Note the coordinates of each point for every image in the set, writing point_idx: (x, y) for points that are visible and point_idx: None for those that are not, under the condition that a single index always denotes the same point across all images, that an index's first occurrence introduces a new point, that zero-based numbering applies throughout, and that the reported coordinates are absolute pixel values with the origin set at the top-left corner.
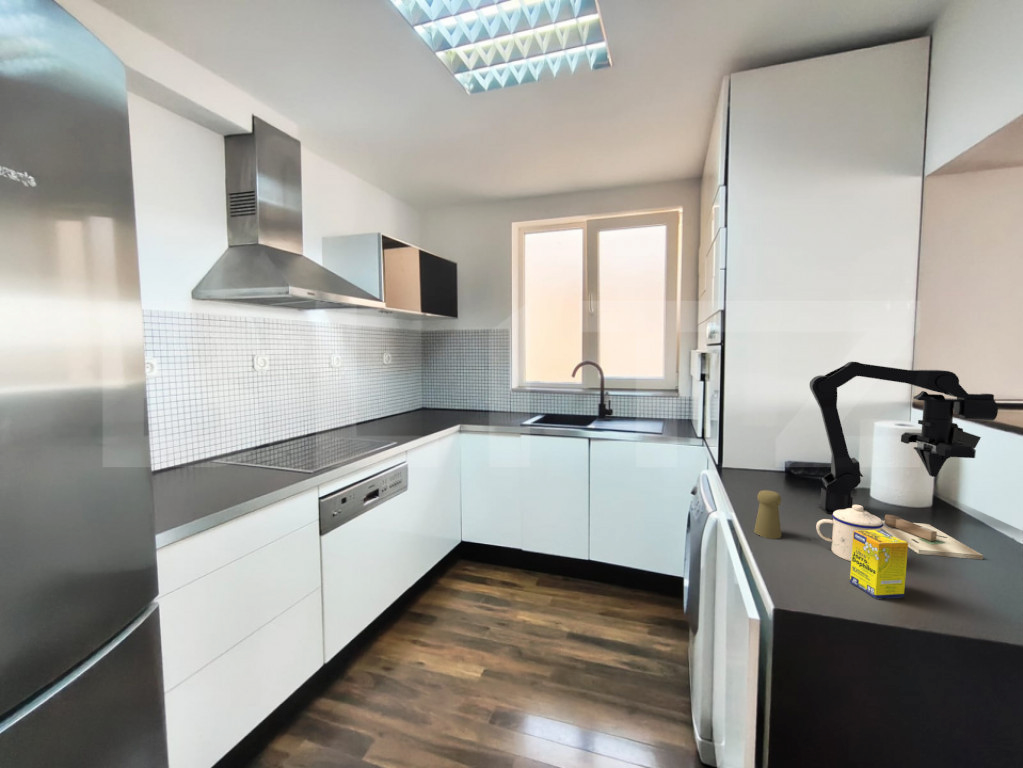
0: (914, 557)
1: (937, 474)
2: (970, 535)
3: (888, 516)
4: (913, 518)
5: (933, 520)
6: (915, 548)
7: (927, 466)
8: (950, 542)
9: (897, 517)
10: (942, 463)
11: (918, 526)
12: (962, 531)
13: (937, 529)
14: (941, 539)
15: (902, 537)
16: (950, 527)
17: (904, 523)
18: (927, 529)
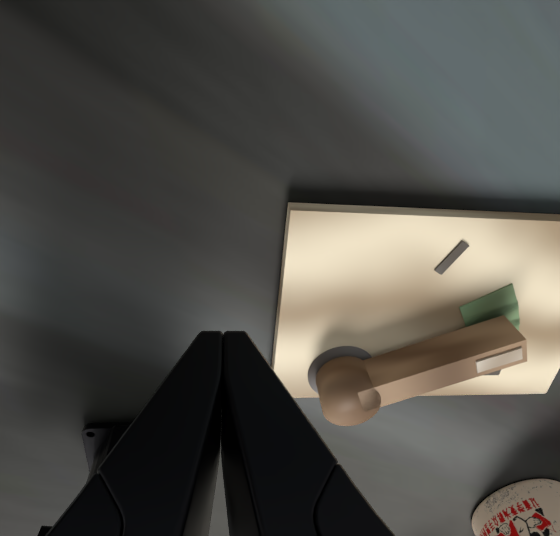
0: (553, 402)
1: (255, 348)
2: (379, 38)
3: (346, 418)
4: (141, 185)
5: (144, 82)
6: (526, 390)
7: (207, 526)
8: (511, 261)
9: (357, 393)
10: (371, 530)
11: (463, 371)
12: (319, 36)
13: (365, 214)
14: (480, 276)
15: (449, 390)
16: (259, 62)
17: (415, 392)
18: (502, 360)
